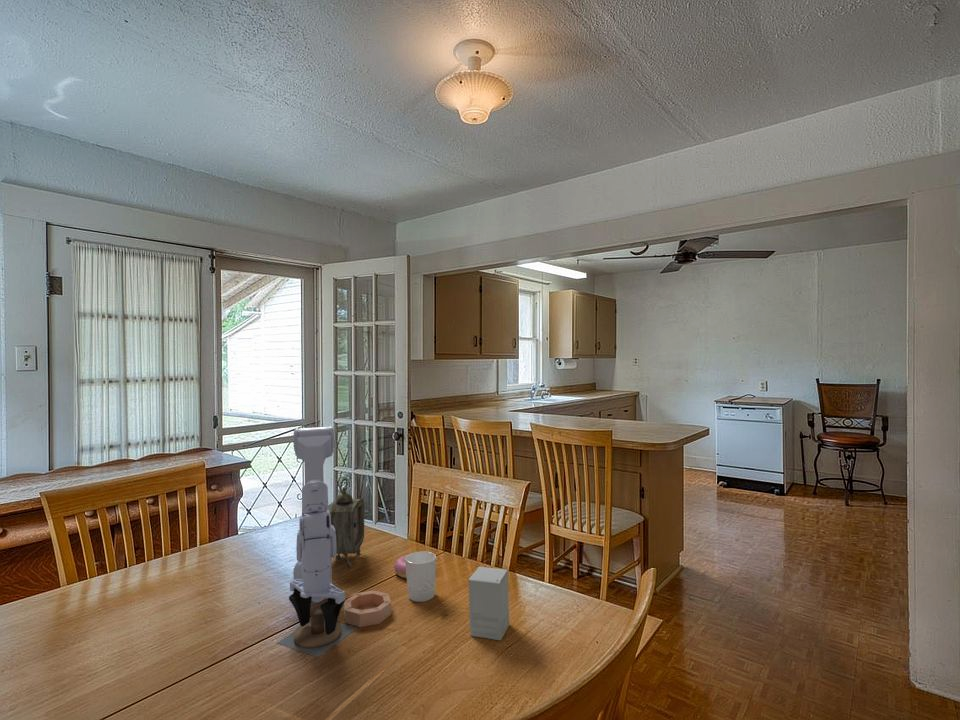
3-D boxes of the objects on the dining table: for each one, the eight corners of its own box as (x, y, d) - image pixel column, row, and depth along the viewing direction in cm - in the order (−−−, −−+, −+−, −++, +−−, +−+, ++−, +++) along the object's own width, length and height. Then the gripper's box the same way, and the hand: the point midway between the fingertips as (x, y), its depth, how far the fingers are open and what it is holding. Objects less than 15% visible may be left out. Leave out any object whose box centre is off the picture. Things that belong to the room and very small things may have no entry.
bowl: (335, 622, 117) (334, 607, 117) (364, 601, 127) (364, 587, 127) (370, 632, 112) (370, 617, 112) (399, 610, 122) (398, 596, 122)
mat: (276, 645, 108) (276, 642, 108) (317, 619, 119) (317, 616, 119) (318, 660, 102) (317, 657, 102) (357, 630, 113) (357, 628, 113)
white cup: (431, 604, 125) (430, 564, 124) (401, 602, 126) (400, 562, 126) (440, 589, 132) (439, 552, 132) (412, 587, 134) (411, 550, 134)
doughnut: (440, 569, 145) (440, 555, 145) (416, 584, 136) (415, 569, 136) (411, 561, 151) (411, 548, 151) (386, 575, 142) (385, 561, 142)
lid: (283, 641, 108) (283, 618, 108) (317, 619, 117) (317, 598, 117) (318, 653, 104) (317, 629, 104) (350, 629, 113) (350, 607, 113)
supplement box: (510, 624, 115) (509, 569, 115) (501, 641, 108) (499, 583, 108) (479, 619, 117) (478, 565, 117) (468, 636, 110) (467, 579, 110)
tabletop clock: (352, 570, 145) (350, 484, 145) (321, 570, 145) (319, 485, 145) (365, 550, 160) (363, 472, 160) (336, 551, 160) (335, 473, 160)
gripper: (278, 568, 110) (279, 629, 110) (328, 580, 104) (329, 645, 104) (302, 556, 116) (304, 614, 117) (351, 567, 110) (352, 628, 110)
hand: (317, 628), depth 111 cm, fingers open, 7 cm apart
